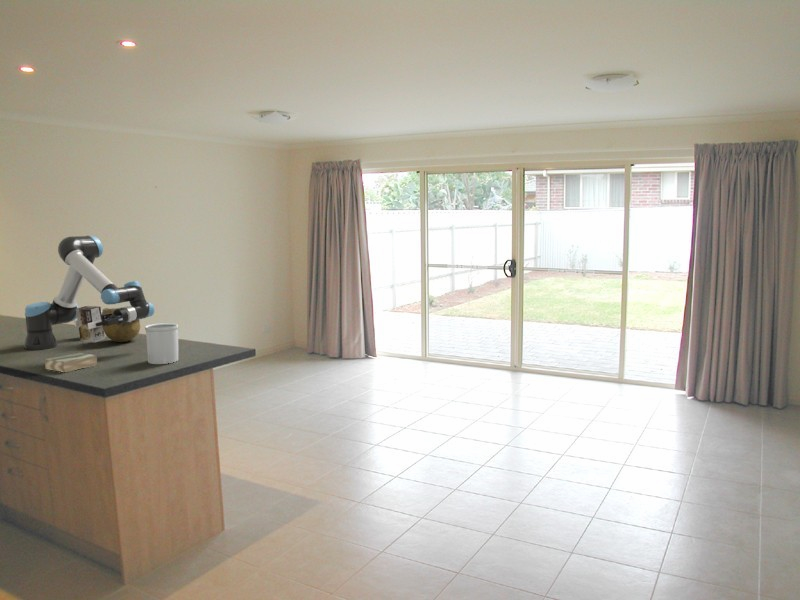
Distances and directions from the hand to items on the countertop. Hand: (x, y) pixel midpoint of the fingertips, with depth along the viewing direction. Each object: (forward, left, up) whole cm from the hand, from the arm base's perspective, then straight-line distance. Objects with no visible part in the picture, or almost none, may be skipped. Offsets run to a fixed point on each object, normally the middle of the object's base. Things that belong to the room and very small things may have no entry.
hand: (81, 325), depth 285 cm
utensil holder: (+28, +22, -19) cm, 40 cm away
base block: (+1, -7, -19) cm, 20 cm away
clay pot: (-28, +42, -19) cm, 54 cm away
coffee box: (0, +5, -8) cm, 10 cm away
